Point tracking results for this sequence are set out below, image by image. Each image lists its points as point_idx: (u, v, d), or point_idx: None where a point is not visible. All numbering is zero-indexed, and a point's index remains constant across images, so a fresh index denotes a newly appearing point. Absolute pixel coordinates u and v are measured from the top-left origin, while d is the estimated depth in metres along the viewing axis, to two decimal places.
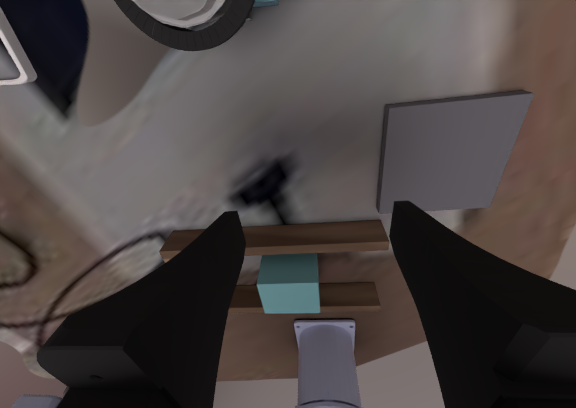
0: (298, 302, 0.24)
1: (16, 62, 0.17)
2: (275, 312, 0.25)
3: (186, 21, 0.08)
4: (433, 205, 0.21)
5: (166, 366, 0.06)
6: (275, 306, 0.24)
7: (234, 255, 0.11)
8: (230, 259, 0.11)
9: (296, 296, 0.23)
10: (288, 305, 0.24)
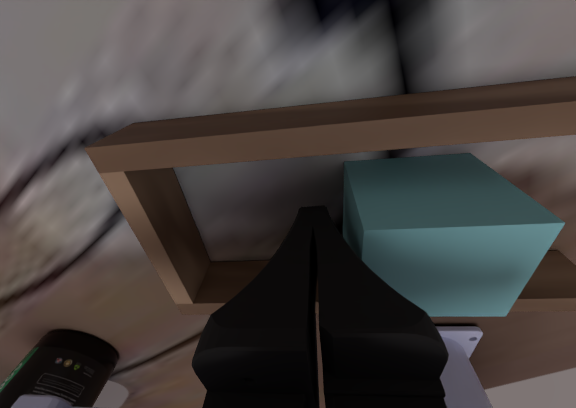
0: (460, 288, 0.09)
1: None
2: None
3: None
4: None
5: (312, 369, 0.06)
6: None
7: None
8: (315, 256, 0.10)
9: (468, 269, 0.08)
10: (430, 296, 0.09)
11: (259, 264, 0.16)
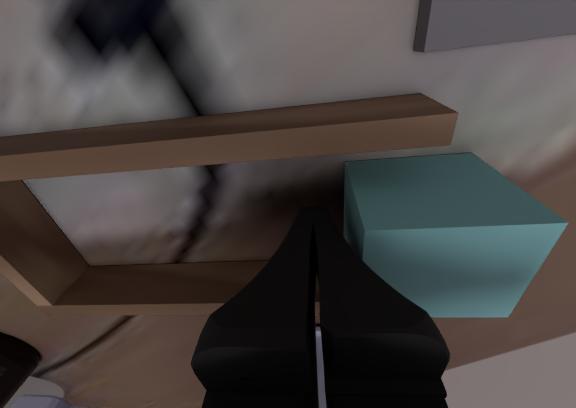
0: (462, 288, 0.09)
1: None
2: None
3: None
4: None
5: (311, 369, 0.06)
6: None
7: (315, 252, 0.11)
8: (314, 256, 0.10)
9: (470, 270, 0.08)
10: (431, 297, 0.09)
11: (130, 268, 0.17)
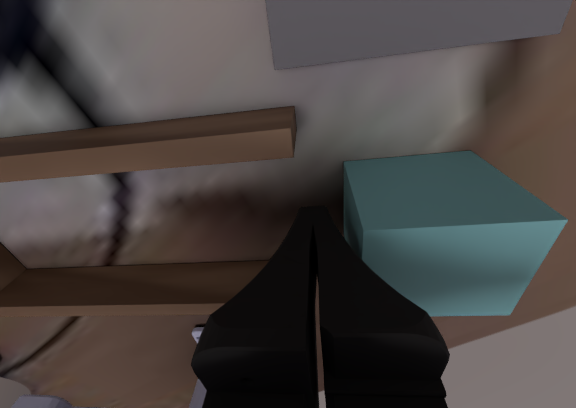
0: (463, 287, 0.09)
1: None
2: None
3: None
4: (409, 35, 0.08)
5: (312, 369, 0.06)
6: None
7: None
8: (314, 256, 0.10)
9: (470, 268, 0.08)
10: (432, 295, 0.09)
11: (64, 271, 0.17)
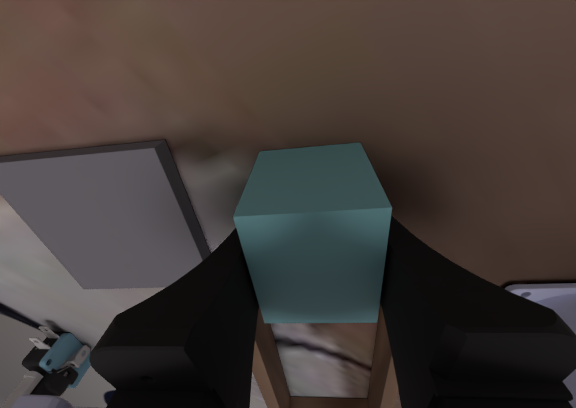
0: (331, 261, 0.08)
1: None
2: (375, 305, 0.09)
3: None
4: (180, 230, 0.13)
5: (215, 367, 0.06)
6: (347, 303, 0.09)
7: None
8: None
9: (301, 263, 0.08)
10: (344, 280, 0.09)
11: (370, 388, 0.24)
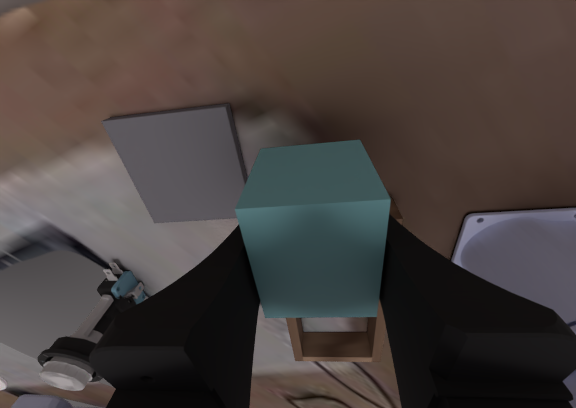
0: (331, 254, 0.08)
1: None
2: (375, 298, 0.09)
3: (87, 373, 0.21)
4: (234, 169, 0.19)
5: (215, 367, 0.06)
6: (347, 297, 0.09)
7: None
8: None
9: (302, 256, 0.08)
10: (344, 273, 0.09)
11: (368, 319, 0.29)
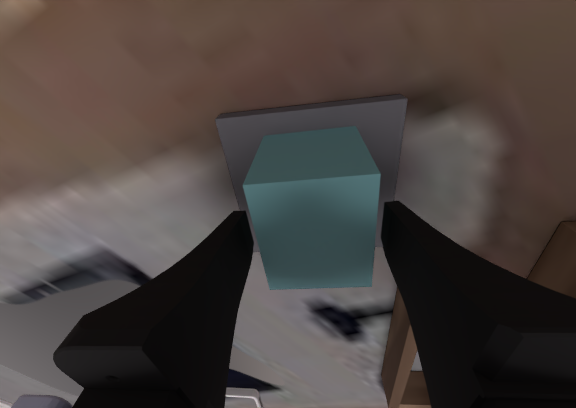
0: (328, 226, 0.09)
1: (246, 397, 0.32)
2: (370, 269, 0.10)
3: None
4: (386, 186, 0.14)
5: (181, 366, 0.06)
6: (344, 268, 0.10)
7: (243, 255, 0.11)
8: (239, 259, 0.11)
9: (302, 228, 0.09)
10: (341, 244, 0.10)
11: None
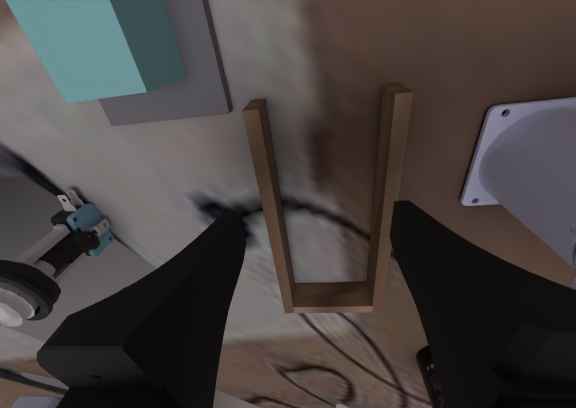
0: (74, 8, 0.11)
1: None
2: (134, 66, 0.12)
3: (27, 303, 0.18)
4: (202, 37, 0.15)
5: (166, 366, 0.06)
6: (112, 66, 0.12)
7: (234, 255, 0.11)
8: (230, 259, 0.11)
9: (54, 13, 0.11)
10: (95, 33, 0.11)
11: (369, 263, 0.26)
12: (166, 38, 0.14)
